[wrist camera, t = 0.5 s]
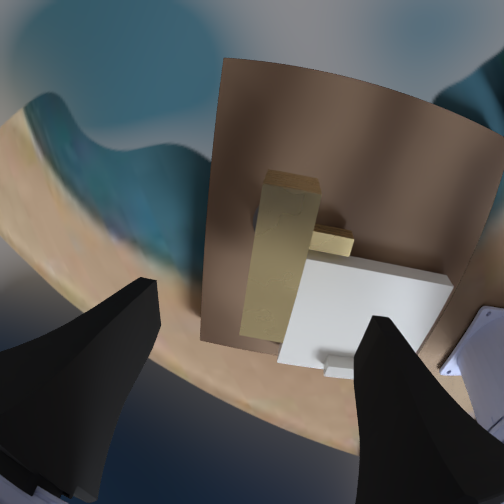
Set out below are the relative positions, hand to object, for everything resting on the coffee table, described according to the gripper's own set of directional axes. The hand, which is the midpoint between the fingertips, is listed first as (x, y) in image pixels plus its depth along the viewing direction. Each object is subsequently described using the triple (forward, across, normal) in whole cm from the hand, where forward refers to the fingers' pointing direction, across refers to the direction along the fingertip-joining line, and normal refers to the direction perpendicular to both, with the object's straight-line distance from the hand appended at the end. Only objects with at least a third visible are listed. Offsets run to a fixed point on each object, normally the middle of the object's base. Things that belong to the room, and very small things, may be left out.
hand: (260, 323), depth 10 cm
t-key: (+7, -1, 0) cm, 7 cm away
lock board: (+9, -4, +1) cm, 10 cm away
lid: (+7, -6, +5) cm, 11 cm away
